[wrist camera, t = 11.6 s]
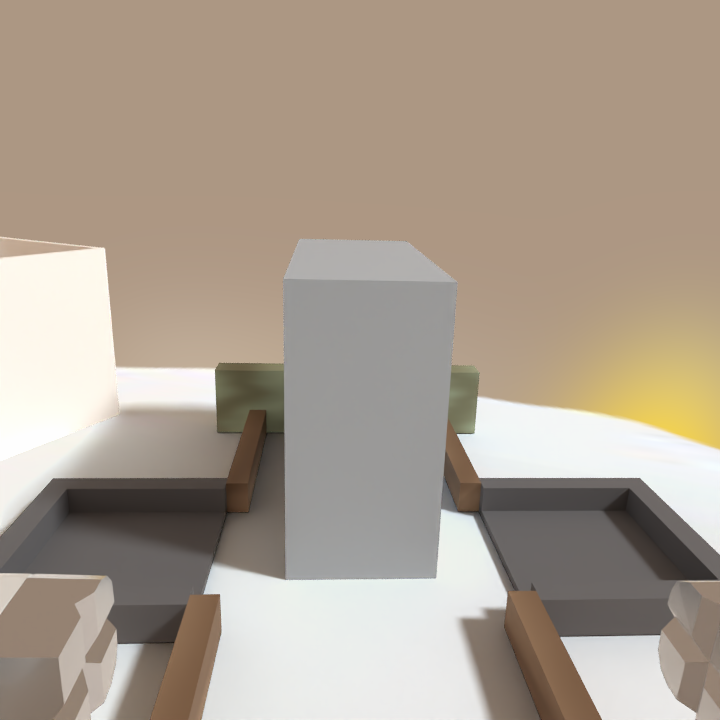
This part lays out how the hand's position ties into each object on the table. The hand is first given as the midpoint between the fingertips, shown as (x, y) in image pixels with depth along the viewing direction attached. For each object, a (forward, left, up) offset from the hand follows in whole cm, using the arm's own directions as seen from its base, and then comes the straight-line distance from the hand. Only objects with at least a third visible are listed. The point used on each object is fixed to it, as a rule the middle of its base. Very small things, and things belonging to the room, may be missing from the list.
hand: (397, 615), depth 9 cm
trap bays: (0, +15, -9) cm, 17 cm away
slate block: (+1, +21, -9) cm, 23 cm away
